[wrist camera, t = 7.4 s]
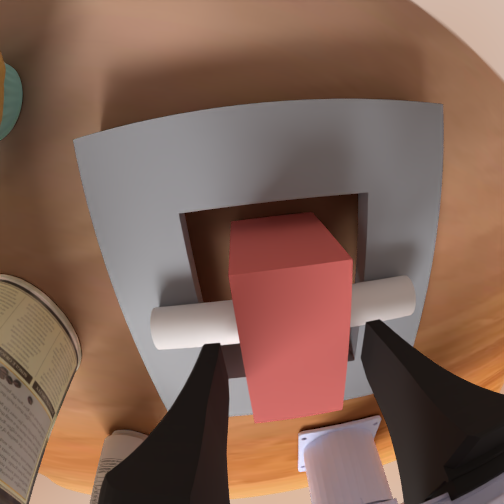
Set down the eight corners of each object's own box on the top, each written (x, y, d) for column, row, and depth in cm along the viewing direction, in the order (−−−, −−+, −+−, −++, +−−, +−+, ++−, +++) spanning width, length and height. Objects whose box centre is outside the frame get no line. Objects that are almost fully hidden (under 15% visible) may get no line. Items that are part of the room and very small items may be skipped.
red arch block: (316, 334, 18) (342, 409, 13) (249, 344, 18) (254, 423, 13) (312, 212, 15) (352, 259, 10) (231, 221, 15) (228, 275, 10)
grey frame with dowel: (386, 358, 22) (410, 407, 17) (176, 387, 22) (168, 442, 17) (410, 101, 14) (470, 107, 9) (99, 131, 14) (49, 147, 9)
